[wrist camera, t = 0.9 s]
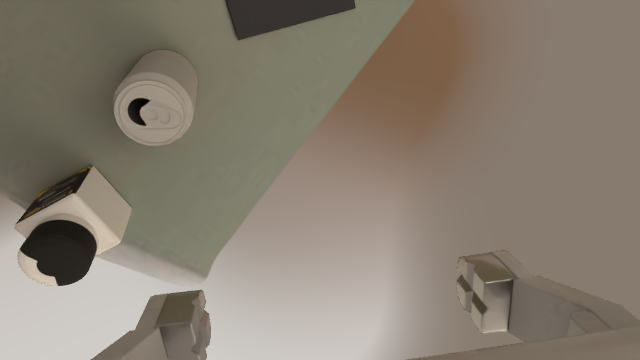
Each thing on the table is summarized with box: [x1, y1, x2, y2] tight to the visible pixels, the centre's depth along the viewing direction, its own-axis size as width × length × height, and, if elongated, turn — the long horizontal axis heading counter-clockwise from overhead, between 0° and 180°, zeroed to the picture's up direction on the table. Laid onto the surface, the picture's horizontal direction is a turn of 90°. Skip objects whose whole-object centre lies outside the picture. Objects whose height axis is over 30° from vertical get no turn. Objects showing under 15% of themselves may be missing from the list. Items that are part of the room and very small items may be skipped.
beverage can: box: [113, 50, 198, 146], centre depth 39 cm, size 6×6×12 cm
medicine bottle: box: [15, 166, 132, 286], centre depth 43 cm, size 7×7×12 cm
